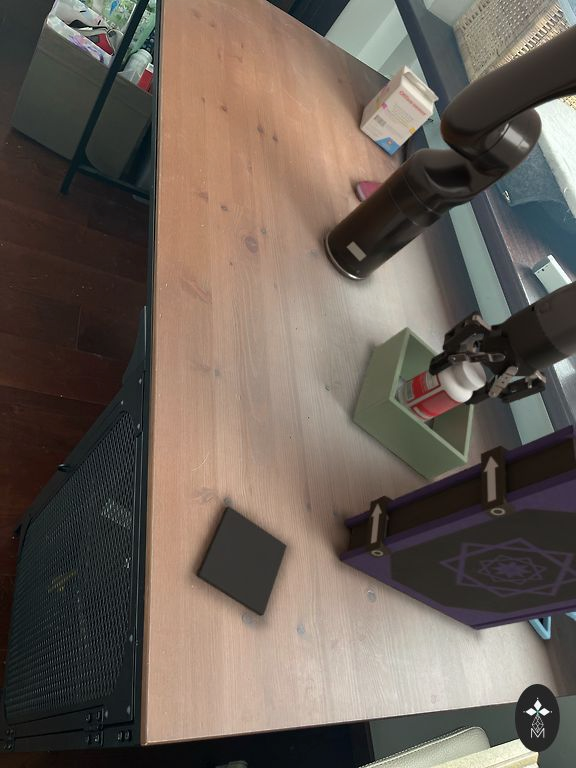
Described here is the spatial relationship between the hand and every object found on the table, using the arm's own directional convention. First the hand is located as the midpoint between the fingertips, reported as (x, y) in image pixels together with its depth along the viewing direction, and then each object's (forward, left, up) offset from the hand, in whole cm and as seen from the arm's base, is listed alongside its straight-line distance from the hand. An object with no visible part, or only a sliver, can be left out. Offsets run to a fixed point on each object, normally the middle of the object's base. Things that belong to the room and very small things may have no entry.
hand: (448, 384), depth 83 cm
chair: (+14, +29, -9) cm, 34 cm away
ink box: (-62, -21, -9) cm, 66 cm away
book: (+23, +7, -9) cm, 25 cm away
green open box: (0, 0, -9) cm, 9 cm away
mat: (+33, -15, -9) cm, 38 cm away
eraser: (-42, -16, -9) cm, 46 cm away
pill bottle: (0, 0, -7) cm, 7 cm away
